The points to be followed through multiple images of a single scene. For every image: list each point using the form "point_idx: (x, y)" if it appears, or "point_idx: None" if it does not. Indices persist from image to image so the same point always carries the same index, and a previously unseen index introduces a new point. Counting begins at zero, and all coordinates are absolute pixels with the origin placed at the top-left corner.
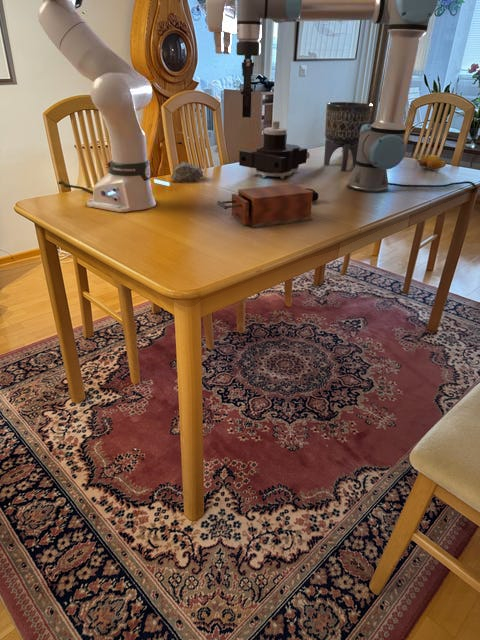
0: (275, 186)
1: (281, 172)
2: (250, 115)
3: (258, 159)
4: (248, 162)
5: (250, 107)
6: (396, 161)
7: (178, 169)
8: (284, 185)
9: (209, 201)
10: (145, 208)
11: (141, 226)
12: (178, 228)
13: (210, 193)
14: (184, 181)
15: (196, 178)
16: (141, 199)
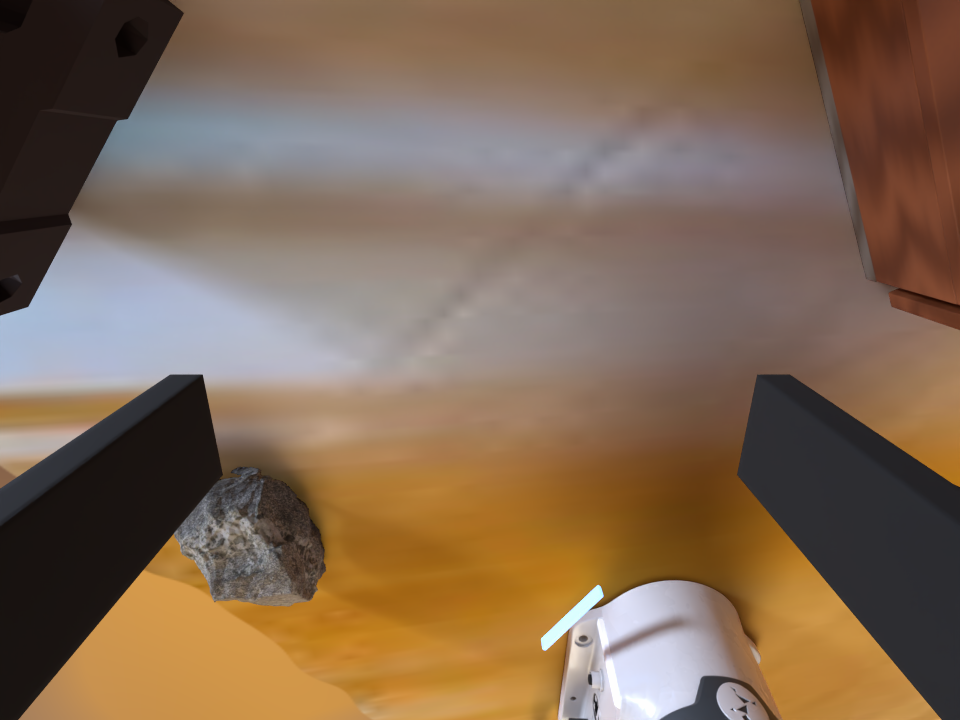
0: (951, 83)
1: (172, 5)
2: (804, 386)
3: (37, 183)
4: (36, 252)
5: (881, 442)
6: None
7: (304, 591)
8: (938, 15)
9: (620, 405)
10: (728, 601)
11: None
12: (955, 476)
13: (488, 410)
14: (318, 532)
15: (291, 494)
16: (739, 635)
